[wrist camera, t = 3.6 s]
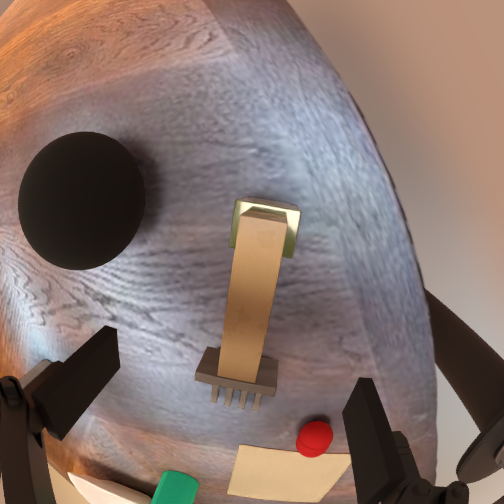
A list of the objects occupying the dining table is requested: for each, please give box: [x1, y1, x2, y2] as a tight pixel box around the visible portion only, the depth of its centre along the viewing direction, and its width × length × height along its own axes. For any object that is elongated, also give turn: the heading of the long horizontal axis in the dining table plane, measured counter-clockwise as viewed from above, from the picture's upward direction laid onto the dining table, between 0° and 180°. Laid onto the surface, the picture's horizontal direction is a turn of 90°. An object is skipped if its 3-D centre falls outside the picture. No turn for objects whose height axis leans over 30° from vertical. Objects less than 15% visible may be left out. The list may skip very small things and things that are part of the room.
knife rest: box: [229, 197, 302, 259], centre depth 19 cm, size 4×3×4 cm
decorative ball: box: [18, 132, 145, 270], centre depth 17 cm, size 10×10×10 cm
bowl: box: [68, 472, 152, 504], centre depth 34 cm, size 22×23×6 cm
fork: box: [195, 210, 288, 412], centre depth 20 cm, size 19×5×8 cm, turn 171°
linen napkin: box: [227, 444, 351, 502], centre depth 29 cm, size 15×16×1 cm
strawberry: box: [296, 421, 333, 458], centre depth 24 cm, size 4×5×4 cm
